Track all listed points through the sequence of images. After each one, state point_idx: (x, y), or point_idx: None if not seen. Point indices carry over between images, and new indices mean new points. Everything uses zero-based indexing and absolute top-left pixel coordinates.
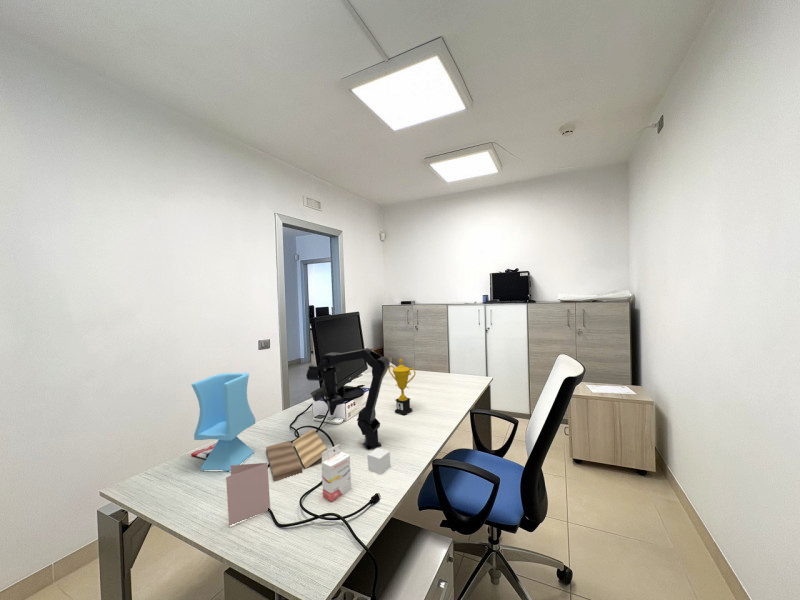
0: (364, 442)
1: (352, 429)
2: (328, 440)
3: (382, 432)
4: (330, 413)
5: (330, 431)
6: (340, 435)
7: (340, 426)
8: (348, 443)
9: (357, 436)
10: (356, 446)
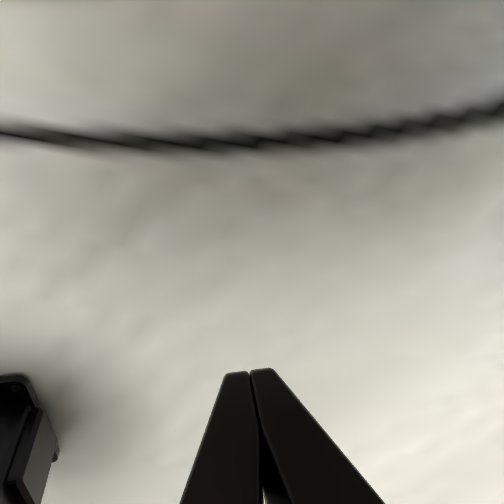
0: (25, 395)
1: (354, 350)
2: (267, 115)
3: (169, 496)
4: (211, 416)
5: (461, 176)
6: (306, 246)
7: (487, 277)
8: (95, 280)
9: (198, 362)
10: (3, 327)
